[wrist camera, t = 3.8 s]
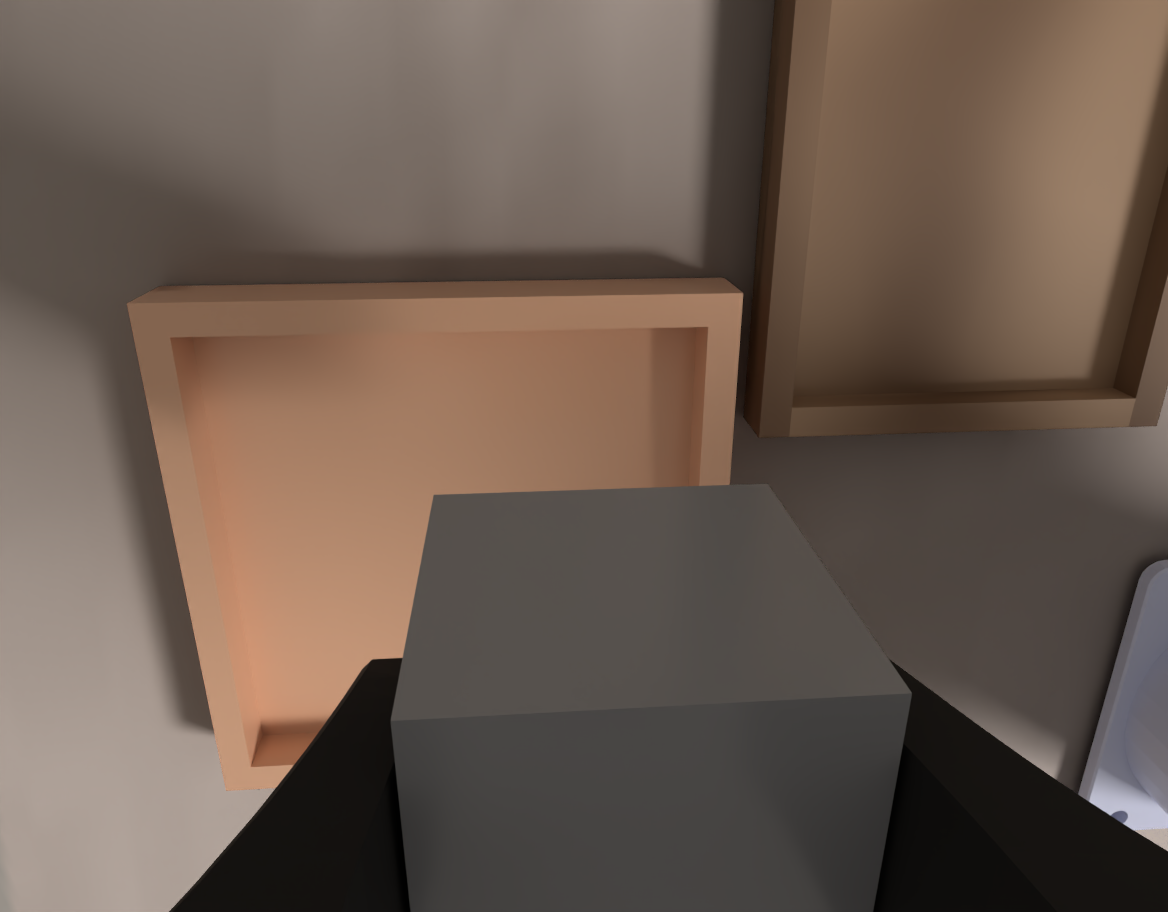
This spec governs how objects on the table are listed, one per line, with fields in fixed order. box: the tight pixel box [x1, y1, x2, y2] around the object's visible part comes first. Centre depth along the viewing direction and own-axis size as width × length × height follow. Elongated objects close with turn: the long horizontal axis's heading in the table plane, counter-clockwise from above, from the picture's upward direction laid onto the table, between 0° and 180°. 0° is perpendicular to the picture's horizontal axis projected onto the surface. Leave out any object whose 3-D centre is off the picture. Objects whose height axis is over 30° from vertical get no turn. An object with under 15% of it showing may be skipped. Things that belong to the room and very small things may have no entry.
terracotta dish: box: [127, 277, 743, 791], centre depth 18 cm, size 11×11×2 cm
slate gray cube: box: [391, 484, 912, 912], centre depth 9 cm, size 4×4×4 cm
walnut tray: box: [743, 0, 1168, 438], centre depth 15 cm, size 8×15×1 cm, turn 0°
